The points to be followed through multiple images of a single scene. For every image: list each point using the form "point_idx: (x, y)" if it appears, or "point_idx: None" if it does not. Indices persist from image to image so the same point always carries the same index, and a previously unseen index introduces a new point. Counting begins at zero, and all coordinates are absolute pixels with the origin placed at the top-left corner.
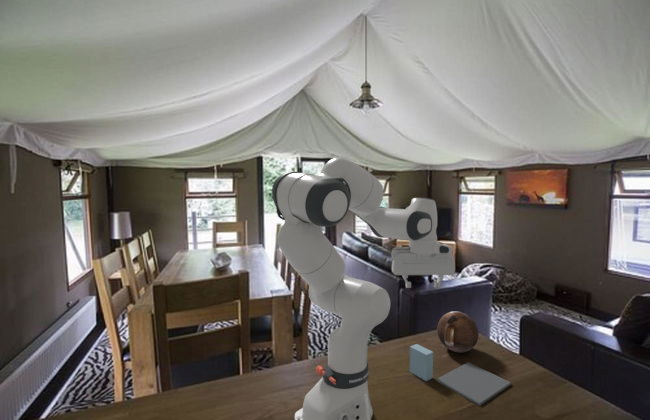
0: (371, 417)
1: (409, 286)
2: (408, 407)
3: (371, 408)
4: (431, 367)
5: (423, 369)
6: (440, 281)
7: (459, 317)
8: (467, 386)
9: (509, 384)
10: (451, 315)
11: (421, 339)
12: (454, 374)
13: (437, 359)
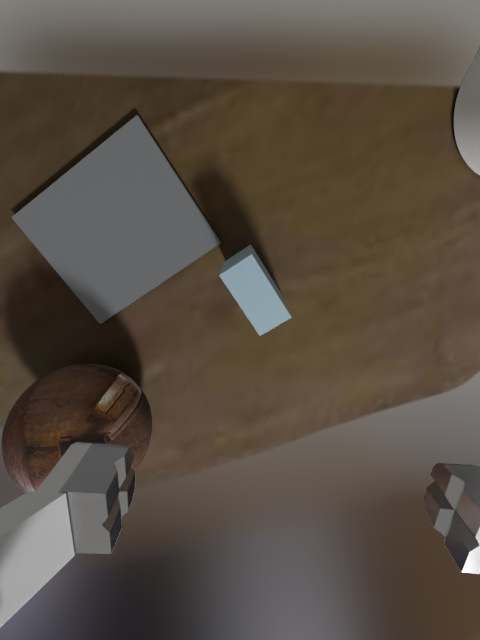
0: (470, 65)
1: (473, 476)
2: (344, 117)
3: (469, 86)
4: (229, 261)
5: (256, 256)
6: (12, 510)
7: (48, 451)
8: (143, 201)
9: (19, 213)
10: None
11: (194, 451)
12: (160, 263)
13: (181, 350)
